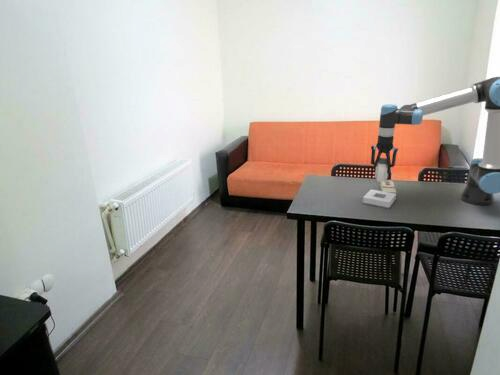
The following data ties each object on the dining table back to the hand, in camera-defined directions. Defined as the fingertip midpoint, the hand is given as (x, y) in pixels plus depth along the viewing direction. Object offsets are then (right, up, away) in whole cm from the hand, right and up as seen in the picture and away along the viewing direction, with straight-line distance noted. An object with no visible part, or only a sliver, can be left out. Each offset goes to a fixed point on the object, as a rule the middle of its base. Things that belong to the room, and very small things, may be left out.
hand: (381, 177), depth 188 cm
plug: (0, -1, +1) cm, 1 cm away
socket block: (+1, -13, +5) cm, 14 cm away
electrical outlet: (+11, -8, +19) cm, 24 cm away
